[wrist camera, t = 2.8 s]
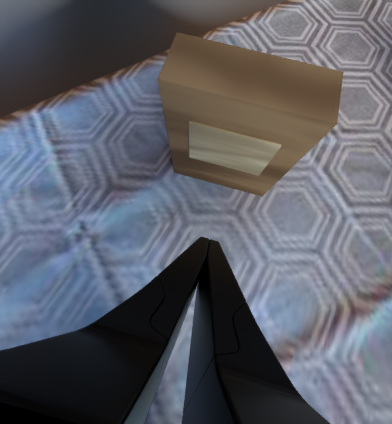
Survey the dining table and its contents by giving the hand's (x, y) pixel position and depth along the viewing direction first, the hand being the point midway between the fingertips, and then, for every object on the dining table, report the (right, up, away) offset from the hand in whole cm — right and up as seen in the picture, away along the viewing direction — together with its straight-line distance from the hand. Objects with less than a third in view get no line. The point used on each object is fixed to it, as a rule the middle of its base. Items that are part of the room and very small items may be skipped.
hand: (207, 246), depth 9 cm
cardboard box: (+3, +7, +16) cm, 18 cm away
